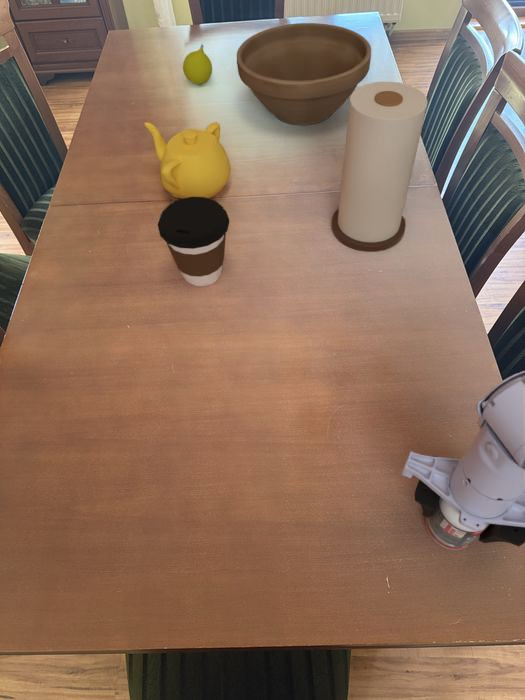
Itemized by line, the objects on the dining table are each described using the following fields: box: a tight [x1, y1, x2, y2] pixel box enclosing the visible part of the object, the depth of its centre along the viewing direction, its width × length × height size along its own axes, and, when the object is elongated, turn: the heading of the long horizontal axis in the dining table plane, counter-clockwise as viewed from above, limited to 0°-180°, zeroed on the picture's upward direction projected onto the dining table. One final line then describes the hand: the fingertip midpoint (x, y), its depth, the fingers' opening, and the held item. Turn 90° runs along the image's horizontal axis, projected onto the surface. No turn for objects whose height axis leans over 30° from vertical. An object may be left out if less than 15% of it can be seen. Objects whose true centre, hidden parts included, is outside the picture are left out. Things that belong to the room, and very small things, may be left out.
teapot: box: [144, 121, 232, 199], centre depth 96 cm, size 14×14×12 cm
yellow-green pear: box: [182, 43, 213, 85], centre depth 124 cm, size 7×7×10 cm
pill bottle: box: [425, 497, 490, 551], centre depth 56 cm, size 6×6×10 cm
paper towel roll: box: [331, 81, 428, 253], centre depth 83 cm, size 13×13×24 cm
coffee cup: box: [157, 197, 230, 288], centre depth 81 cm, size 11×11×12 cm
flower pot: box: [236, 22, 372, 126], centre depth 113 cm, size 28×28×13 cm
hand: (454, 520), depth 57 cm, fingers closed on pill bottle, 5 cm apart
